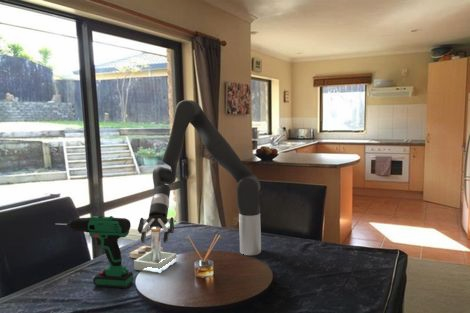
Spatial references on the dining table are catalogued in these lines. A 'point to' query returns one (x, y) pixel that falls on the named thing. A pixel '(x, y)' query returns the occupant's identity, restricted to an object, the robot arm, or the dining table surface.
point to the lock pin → (155, 244)
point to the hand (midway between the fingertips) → (153, 242)
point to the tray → (146, 262)
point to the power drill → (107, 247)
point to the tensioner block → (141, 251)
